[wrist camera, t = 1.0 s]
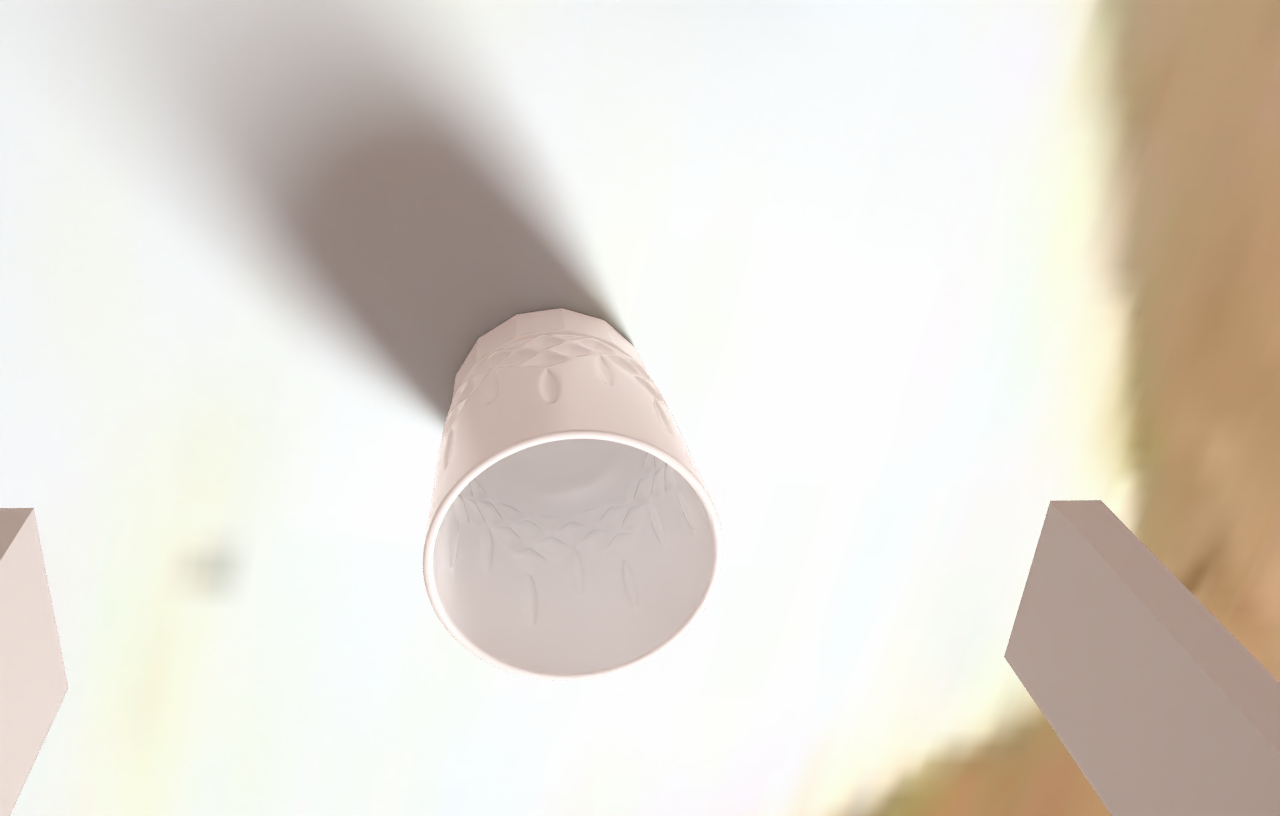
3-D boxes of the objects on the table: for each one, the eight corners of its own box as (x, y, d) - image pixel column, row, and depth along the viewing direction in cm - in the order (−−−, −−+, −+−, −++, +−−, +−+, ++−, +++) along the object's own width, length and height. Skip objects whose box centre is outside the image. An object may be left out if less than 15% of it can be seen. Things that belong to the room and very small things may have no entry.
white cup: (409, 467, 38) (388, 652, 29) (472, 260, 35) (471, 396, 26) (621, 517, 40) (662, 704, 31) (698, 326, 37) (768, 473, 28)
